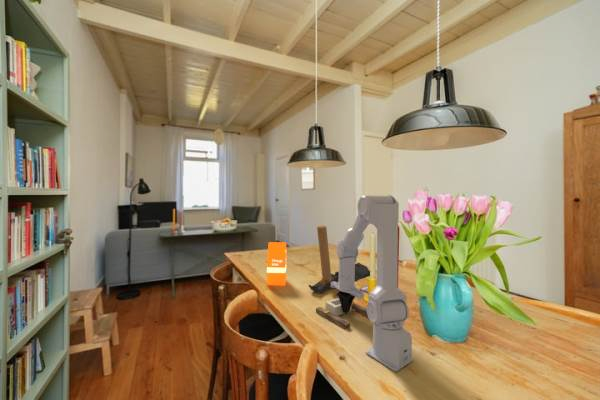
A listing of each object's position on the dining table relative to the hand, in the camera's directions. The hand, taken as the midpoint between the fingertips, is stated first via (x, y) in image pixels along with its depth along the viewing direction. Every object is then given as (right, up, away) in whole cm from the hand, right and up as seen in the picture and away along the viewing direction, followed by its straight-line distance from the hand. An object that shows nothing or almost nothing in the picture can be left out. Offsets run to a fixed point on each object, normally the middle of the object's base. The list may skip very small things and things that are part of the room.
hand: (346, 312), depth 94 cm
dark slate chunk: (+13, -1, +49) cm, 50 cm away
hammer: (-4, -1, +27) cm, 27 cm away
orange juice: (-28, 0, +34) cm, 44 cm away
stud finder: (-2, -1, +4) cm, 4 cm away
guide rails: (0, -1, 0) cm, 1 cm away
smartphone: (+18, -1, +22) cm, 28 cm away
